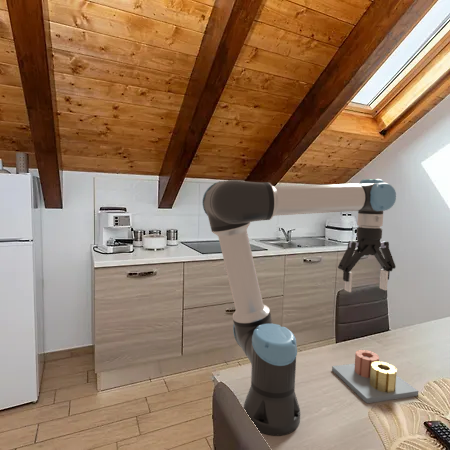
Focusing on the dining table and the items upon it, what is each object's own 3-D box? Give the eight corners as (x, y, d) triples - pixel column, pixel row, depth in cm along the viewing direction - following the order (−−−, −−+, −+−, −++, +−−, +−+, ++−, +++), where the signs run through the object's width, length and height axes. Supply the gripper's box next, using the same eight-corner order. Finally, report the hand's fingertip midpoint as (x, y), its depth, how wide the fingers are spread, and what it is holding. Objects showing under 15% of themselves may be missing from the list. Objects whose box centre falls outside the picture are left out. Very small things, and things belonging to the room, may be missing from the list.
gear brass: (380, 393, 95) (382, 374, 94) (365, 380, 102) (366, 362, 101) (400, 391, 97) (402, 372, 96) (384, 378, 103) (385, 360, 103)
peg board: (366, 403, 93) (367, 381, 92) (331, 370, 110) (333, 352, 110) (418, 395, 97) (419, 375, 96) (376, 365, 114) (378, 347, 114)
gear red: (350, 367, 109) (351, 350, 109) (368, 365, 111) (369, 349, 110) (364, 379, 102) (365, 361, 102) (382, 376, 104) (383, 359, 104)
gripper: (342, 228, 98) (338, 295, 100) (410, 228, 104) (405, 291, 106) (329, 225, 106) (326, 288, 108) (393, 225, 112) (389, 285, 113)
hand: (365, 290), depth 107 cm, fingers open, 13 cm apart
